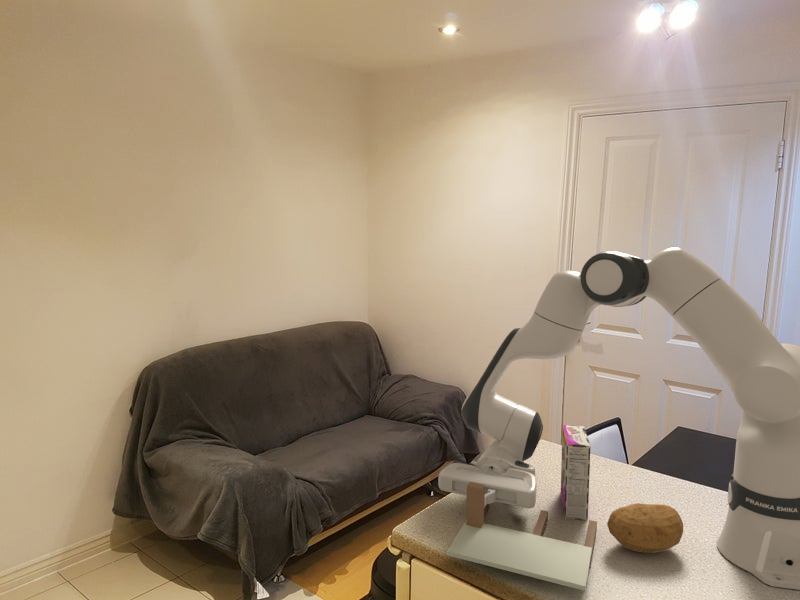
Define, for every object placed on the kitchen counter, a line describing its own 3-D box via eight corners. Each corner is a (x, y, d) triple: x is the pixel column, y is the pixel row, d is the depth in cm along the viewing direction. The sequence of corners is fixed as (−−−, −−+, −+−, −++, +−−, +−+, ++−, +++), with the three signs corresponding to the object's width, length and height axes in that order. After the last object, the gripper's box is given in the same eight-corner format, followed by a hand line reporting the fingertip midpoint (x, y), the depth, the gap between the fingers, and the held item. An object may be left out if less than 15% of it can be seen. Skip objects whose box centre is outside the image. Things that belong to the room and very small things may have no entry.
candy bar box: (558, 492, 125) (561, 423, 123) (581, 494, 124) (585, 425, 122) (563, 518, 114) (566, 443, 112) (588, 521, 113) (592, 445, 111)
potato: (595, 535, 108) (597, 497, 107) (663, 531, 109) (666, 494, 108) (619, 566, 98) (622, 524, 97) (694, 561, 100) (697, 520, 99)
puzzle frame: (596, 530, 110) (597, 521, 109) (590, 568, 98) (590, 557, 98) (482, 506, 119) (482, 497, 119) (464, 537, 107) (464, 528, 107)
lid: (591, 551, 99) (594, 506, 98) (585, 590, 89) (587, 540, 87) (466, 523, 109) (467, 481, 107) (447, 555, 98) (448, 509, 97)
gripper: (449, 451, 123) (427, 477, 111) (542, 467, 115) (529, 497, 103) (449, 477, 124) (427, 506, 112) (541, 495, 116) (528, 529, 103)
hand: (477, 502), depth 107 cm, fingers closed, pressing on lid
